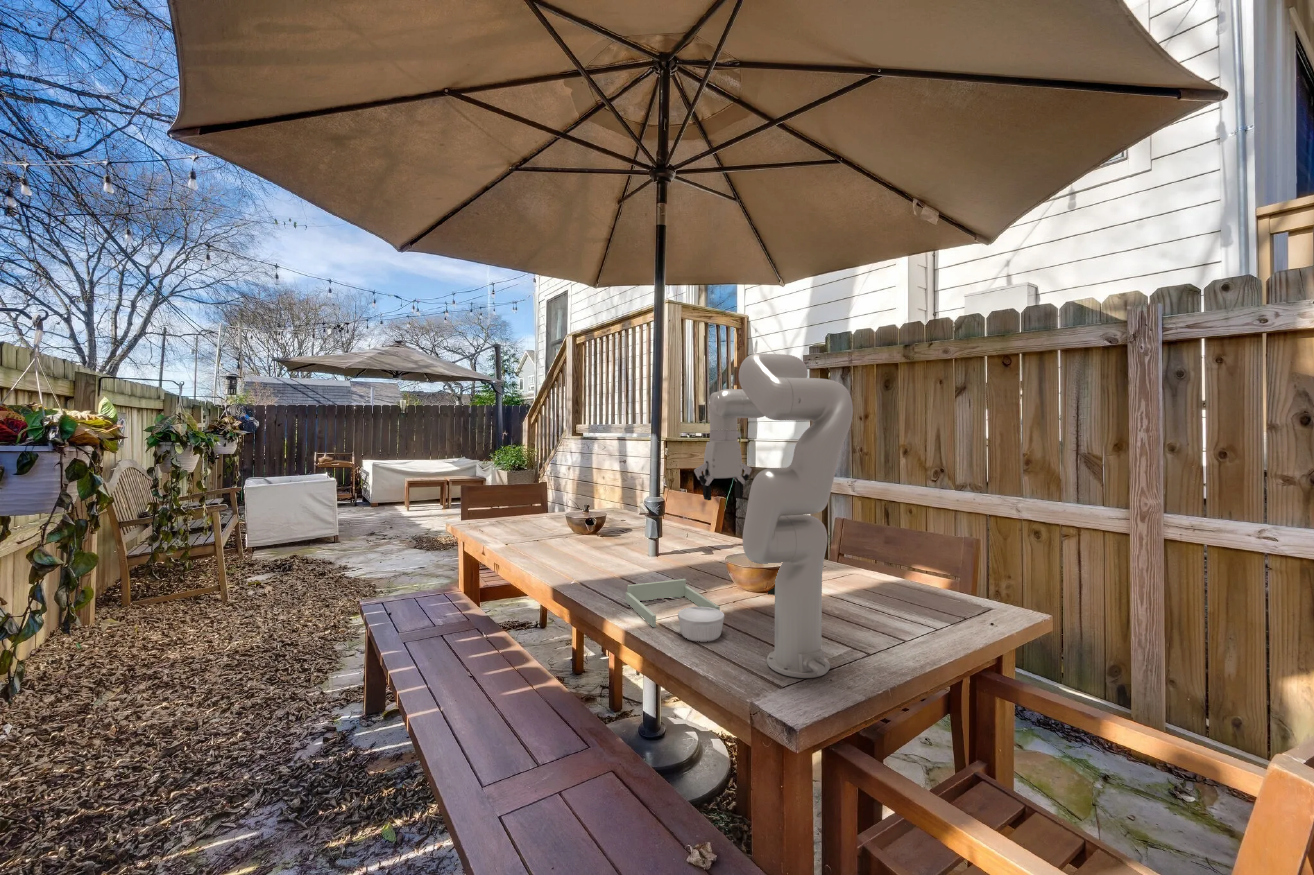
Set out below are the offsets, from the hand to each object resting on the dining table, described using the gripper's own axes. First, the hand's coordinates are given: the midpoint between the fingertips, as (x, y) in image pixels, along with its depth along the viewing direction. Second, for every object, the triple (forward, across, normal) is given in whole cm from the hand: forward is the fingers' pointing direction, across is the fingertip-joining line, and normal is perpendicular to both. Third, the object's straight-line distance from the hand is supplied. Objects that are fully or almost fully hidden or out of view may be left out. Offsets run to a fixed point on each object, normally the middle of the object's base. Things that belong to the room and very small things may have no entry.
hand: (723, 499), depth 151 cm
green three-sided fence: (+30, +14, -4) cm, 34 cm away
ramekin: (+31, +14, +15) cm, 37 cm away
